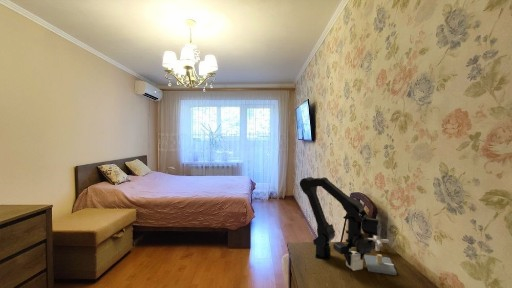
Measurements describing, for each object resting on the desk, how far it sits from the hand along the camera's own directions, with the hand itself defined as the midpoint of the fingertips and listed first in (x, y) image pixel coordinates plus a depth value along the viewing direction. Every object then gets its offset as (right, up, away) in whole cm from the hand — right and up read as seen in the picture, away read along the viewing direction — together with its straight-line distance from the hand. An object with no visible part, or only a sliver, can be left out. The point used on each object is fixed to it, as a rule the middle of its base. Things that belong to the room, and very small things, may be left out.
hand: (354, 264), depth 111 cm
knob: (0, -1, 0) cm, 1 cm away
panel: (+12, -1, +1) cm, 12 cm away
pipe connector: (+18, -1, +16) cm, 24 cm away
